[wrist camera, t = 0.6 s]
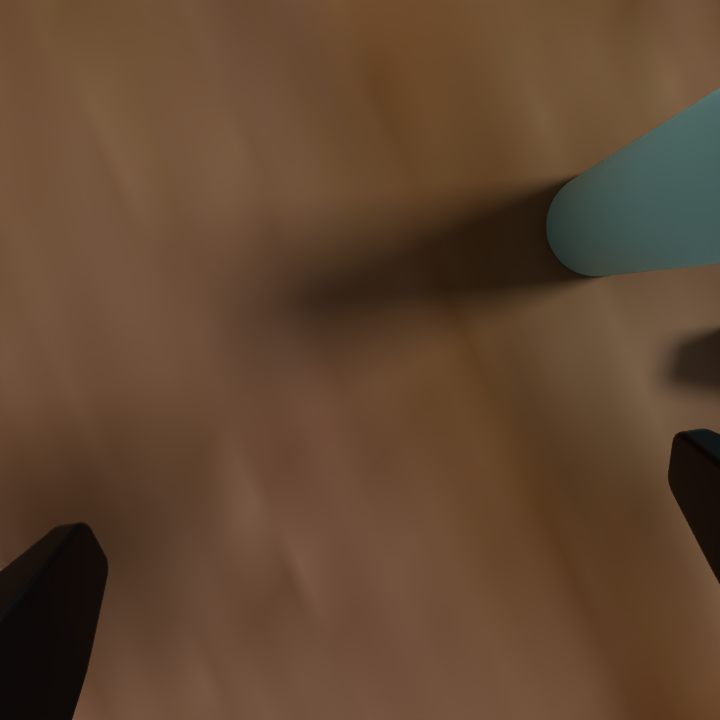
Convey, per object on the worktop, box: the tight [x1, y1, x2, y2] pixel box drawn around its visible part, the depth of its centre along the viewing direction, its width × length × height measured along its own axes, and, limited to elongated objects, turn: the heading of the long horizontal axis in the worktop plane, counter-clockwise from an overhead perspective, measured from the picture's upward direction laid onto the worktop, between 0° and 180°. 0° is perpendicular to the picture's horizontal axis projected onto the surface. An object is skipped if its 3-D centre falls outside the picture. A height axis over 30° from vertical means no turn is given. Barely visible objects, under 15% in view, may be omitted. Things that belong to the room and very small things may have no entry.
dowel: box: [546, 88, 720, 276], centre depth 15 cm, size 4×4×12 cm
